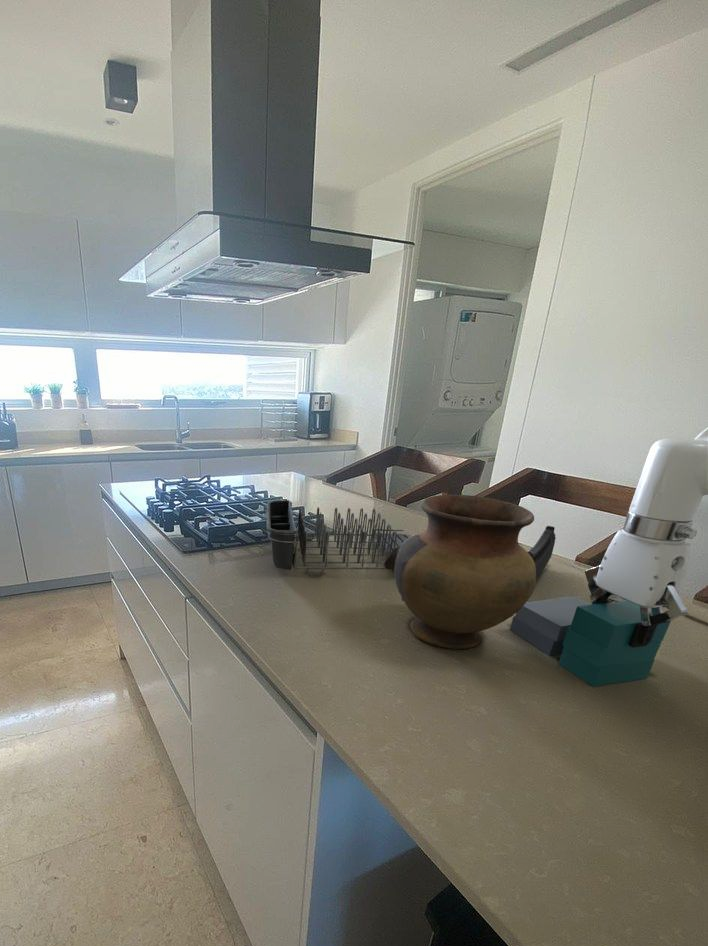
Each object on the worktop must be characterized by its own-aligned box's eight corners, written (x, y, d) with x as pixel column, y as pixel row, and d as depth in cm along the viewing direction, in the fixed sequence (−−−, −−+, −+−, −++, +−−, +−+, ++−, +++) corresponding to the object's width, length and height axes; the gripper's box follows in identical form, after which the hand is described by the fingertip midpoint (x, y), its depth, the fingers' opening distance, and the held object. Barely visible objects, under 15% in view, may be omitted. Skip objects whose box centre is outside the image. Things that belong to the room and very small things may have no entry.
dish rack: (265, 537, 146) (266, 497, 141) (412, 540, 146) (418, 500, 141) (265, 579, 115) (266, 530, 110) (451, 584, 115) (461, 535, 110)
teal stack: (608, 655, 86) (621, 620, 83) (647, 678, 80) (663, 641, 77) (555, 663, 83) (566, 627, 81) (591, 687, 77) (605, 649, 74)
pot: (366, 650, 86) (384, 512, 76) (385, 599, 106) (401, 485, 96) (522, 682, 78) (566, 533, 68) (511, 620, 98) (543, 498, 88)
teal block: (622, 621, 83) (630, 600, 81) (662, 641, 77) (672, 618, 75) (569, 627, 80) (576, 605, 79) (606, 648, 74) (615, 625, 73)
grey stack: (568, 622, 98) (577, 595, 95) (614, 648, 89) (625, 618, 86) (508, 629, 94) (515, 601, 92) (549, 656, 85) (558, 626, 83)
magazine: (529, 566, 101) (565, 501, 118) (513, 563, 103) (550, 499, 119) (516, 627, 111) (550, 559, 128) (501, 623, 113) (537, 557, 130)
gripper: (740, 544, 64) (687, 659, 72) (621, 511, 80) (588, 609, 87) (697, 547, 63) (648, 665, 70) (584, 513, 78) (554, 612, 85)
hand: (615, 633), depth 78 cm, fingers closed on teal block, 7 cm apart
